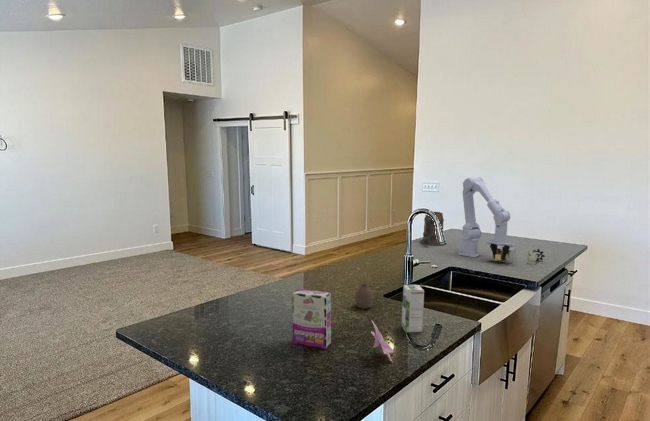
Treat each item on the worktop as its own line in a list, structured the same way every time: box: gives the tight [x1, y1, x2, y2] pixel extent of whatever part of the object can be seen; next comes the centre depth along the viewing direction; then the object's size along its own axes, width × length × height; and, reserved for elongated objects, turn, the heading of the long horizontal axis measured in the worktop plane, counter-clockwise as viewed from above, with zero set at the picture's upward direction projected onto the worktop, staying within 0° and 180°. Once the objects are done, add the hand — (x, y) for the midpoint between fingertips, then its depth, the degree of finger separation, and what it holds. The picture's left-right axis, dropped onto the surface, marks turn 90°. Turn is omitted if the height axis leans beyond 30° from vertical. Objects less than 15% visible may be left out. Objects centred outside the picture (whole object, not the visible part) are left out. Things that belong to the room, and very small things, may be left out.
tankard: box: [419, 211, 447, 247], centre depth 271 cm, size 24×17×20 cm
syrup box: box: [401, 284, 425, 333], centre depth 143 cm, size 6×6×14 cm
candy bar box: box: [292, 288, 332, 350], centre depth 132 cm, size 11×5×16 cm, turn 69°
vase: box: [354, 283, 374, 310], centre depth 163 cm, size 7×7×9 cm
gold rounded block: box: [495, 250, 507, 262], centre depth 230 cm, size 6×11×6 cm, turn 139°
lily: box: [366, 320, 394, 362], centre depth 124 cm, size 12×12×10 cm
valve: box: [526, 248, 546, 266], centre depth 228 cm, size 7×7×12 cm
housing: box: [491, 245, 517, 264], centre depth 233 cm, size 10×8×7 cm
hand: (499, 258), depth 228 cm, fingers open, 4 cm apart
